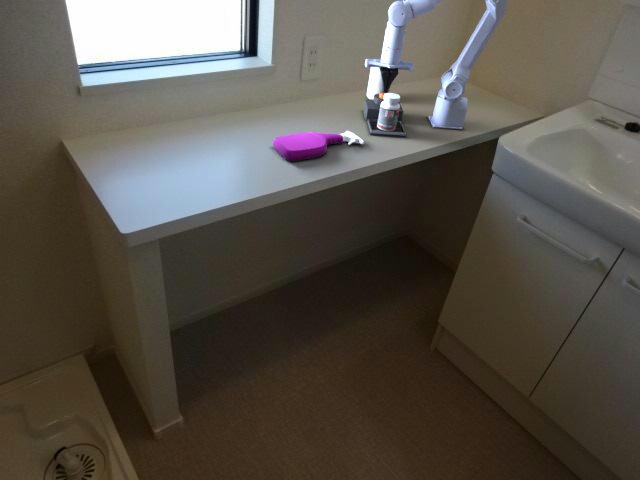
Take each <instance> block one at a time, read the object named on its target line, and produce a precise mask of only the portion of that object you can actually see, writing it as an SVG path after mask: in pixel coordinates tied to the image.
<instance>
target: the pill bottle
mask: <svg viewBox="0 0 640 480" xmlns="http://www.w3.org/2000/svg"><path fill="white" fill-rule="evenodd" d="M398 102H401V95H399V94H398V93H394V92H389V93H386V94H384V101H383V102H382V103H381V106H380V112H379V117H378V123H377V127H378V128H379V129H381V130H383V131H394V130H395V129H396V125H397V120H398V115H399V110H400V105H401V104H400V105H399V103H398Z"/></svg>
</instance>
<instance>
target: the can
mask: <svg viewBox="0 0 640 480" xmlns="http://www.w3.org/2000/svg"><path fill="white" fill-rule="evenodd" d="M382 87H383V86H382V77H381V72H380V68H377V67H370V71H369V78H368V84H367V91H366V97H367V99H374V95H375V94H378V93H380V91H382ZM390 91H391V87H390V88H389V90H388V92H389V93H390Z"/></svg>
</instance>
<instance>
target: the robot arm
mask: <svg viewBox="0 0 640 480" xmlns="http://www.w3.org/2000/svg"><path fill="white" fill-rule="evenodd" d="M443 1H444V0H395V1H393V2H392V3H391V5H390V6H389V8H388V10H387V14H388V21H387V22H386V28H385V33H384V39H383V44H382V51H381V57H380V58H365V62H364V66H365V68H371V67H377V68H380V72H381V77H382V86H383V87H382V91H383V93H388V90H389V88H390V89H391V86H392V84H393V83H394V81H395V79H396V77H397V76H398V75H399V70H400V71H409V72H414V70H415V63H414V62H409V61H403V60H401V58H402V53H403V48H404V43H405V37H406V27H407V24H408V23H409V20H411V19H412V20H414V19H416V18H418V17H421V16H422V15H425V14H427V13H429V12H432V11H434V10H435V9H436V7H437V5H438V4H439V3H441V2H443ZM484 2H485V3H484V4H485V6H486V10H485V11H484V13H483V15H482V16H481V18H480V20H479V21H478V23H477V25H476V27H475V28H474V30H473V32H472V33H471V35H470V37H469V38H468V40H467V42H466V43H465V45H464V47H463V49H462V51H461V53H460V54H459V56H458V58H457V59H456V61H455V62H453V63H452V65H451V66H450V67H449V69H448V70H446V71H445V72H443V74H442V75H441V78H440V84H441V89H440V90H439V91H438V92H437V97H436V100H435V105H434V108H433V112H432V115H428V116H427V118H428V120H429V122H430V124H431V126H432V128H437V129H438V128H439V129H450V130H451V129H453V130H463V126H464V122H465V118H466V116H467V115H466V114H467V112H468V105H469V101H468V98H467V97H464V96H463V95H464V93H465V90H466V84H467V83H468V81H469V78H470V75H471V71H472V69H473V67H474V66H475V64H476V63H477V61H478V60H479V58H480V56H481V55H482V53H483V51H484V50H485V48H486V46H487V44H488V43H489V41H490V40H491V38H492V36H493V35H494V33H495V31H496V30H497V29H498V27H499V25H500V24H501V22H502V21H503V19H504V17H505V15H506V13H507V11H508V0H484Z"/></svg>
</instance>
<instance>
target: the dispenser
mask: <svg viewBox="0 0 640 480" xmlns="http://www.w3.org/2000/svg"><path fill="white" fill-rule="evenodd" d="M383 101H384V99H381V98H379V93H378V94H375V95H374V99H369V98H365V99H364V106H363V116H364V120H365V122H367V120H368V119H378V117H379V112H380V106H381V103H382V102H383ZM398 103H399V105H400V110H399V115H398V120H397V121H401V122H402V120H403V116H404V115H403V114H404V109H403V107H402V105H401V101H399V102H398Z"/></svg>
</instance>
